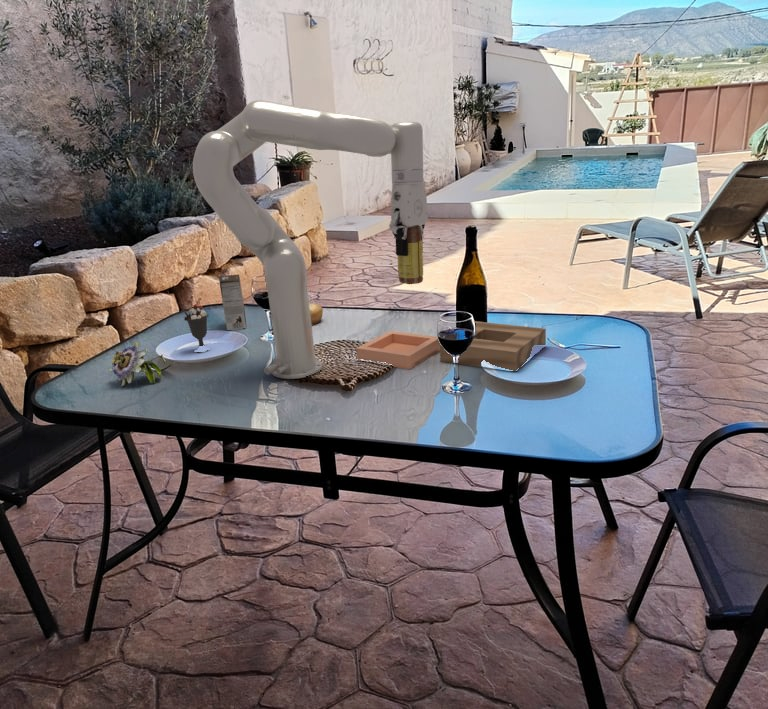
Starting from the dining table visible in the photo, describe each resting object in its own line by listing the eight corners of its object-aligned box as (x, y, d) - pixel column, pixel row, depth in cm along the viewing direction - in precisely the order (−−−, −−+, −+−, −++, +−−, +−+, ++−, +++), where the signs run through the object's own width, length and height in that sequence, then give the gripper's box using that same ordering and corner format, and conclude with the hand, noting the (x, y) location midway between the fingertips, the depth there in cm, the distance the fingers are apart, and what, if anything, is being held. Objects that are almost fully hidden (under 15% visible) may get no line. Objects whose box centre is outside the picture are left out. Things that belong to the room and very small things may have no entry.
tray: (410, 369, 152) (409, 355, 151) (357, 360, 161) (356, 348, 160) (441, 349, 165) (441, 337, 164) (390, 342, 173) (390, 330, 172)
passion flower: (129, 405, 157) (96, 369, 155) (158, 382, 166) (126, 348, 164) (149, 387, 150) (114, 349, 149) (178, 364, 159) (145, 329, 157)
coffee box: (226, 324, 205) (218, 275, 199) (246, 321, 206) (239, 273, 201) (226, 331, 196) (218, 281, 191) (247, 328, 198) (240, 278, 192)
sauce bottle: (411, 279, 160) (411, 199, 154) (428, 282, 155) (428, 200, 149) (392, 282, 156) (390, 201, 150) (408, 286, 151) (407, 202, 145)
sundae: (218, 346, 182) (209, 296, 177) (208, 353, 175) (199, 302, 171) (197, 346, 183) (188, 296, 178) (186, 354, 177) (177, 302, 172)
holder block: (515, 372, 145) (515, 352, 144) (440, 361, 156) (439, 342, 155) (545, 347, 161) (545, 328, 159) (475, 338, 172) (474, 321, 170)
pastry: (279, 324, 200) (275, 297, 197) (306, 316, 208) (303, 289, 205) (303, 330, 192) (300, 302, 189) (331, 320, 200) (328, 293, 197)
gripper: (401, 179, 139) (403, 260, 145) (439, 175, 152) (440, 249, 158) (373, 180, 143) (377, 258, 149) (413, 175, 156) (414, 247, 162)
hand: (409, 252), depth 153 cm, fingers closed on sauce bottle, 6 cm apart
